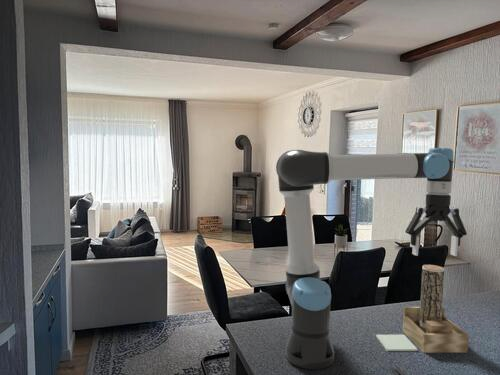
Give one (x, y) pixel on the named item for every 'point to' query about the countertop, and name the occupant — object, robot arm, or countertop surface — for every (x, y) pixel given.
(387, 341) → the felt mat
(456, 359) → the countertop surface
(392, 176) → the robot arm
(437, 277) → the wooden log
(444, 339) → the wooden open box
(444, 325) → the offcut stack
